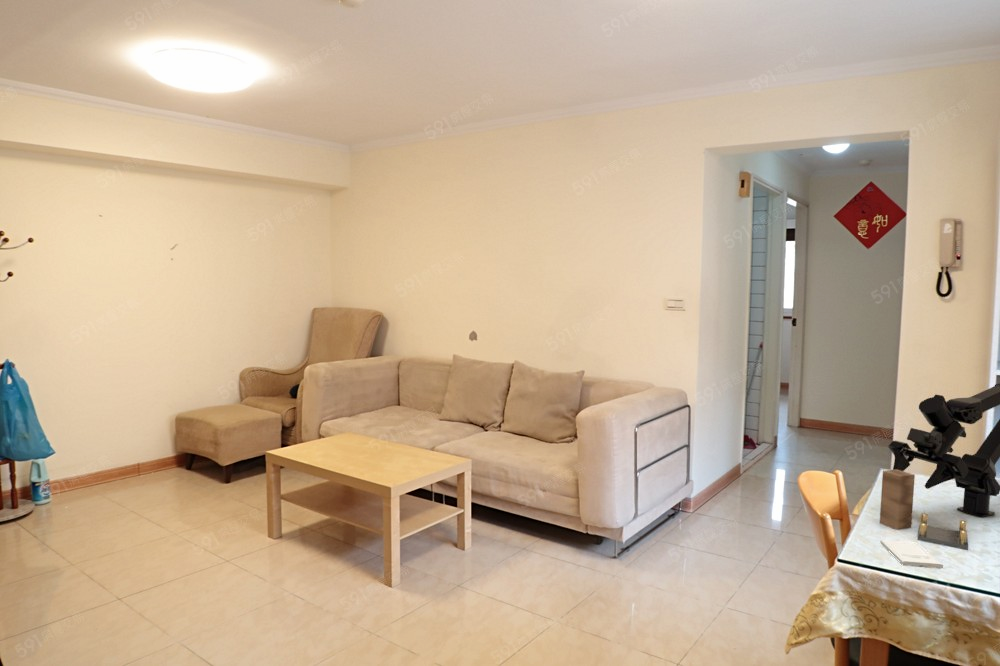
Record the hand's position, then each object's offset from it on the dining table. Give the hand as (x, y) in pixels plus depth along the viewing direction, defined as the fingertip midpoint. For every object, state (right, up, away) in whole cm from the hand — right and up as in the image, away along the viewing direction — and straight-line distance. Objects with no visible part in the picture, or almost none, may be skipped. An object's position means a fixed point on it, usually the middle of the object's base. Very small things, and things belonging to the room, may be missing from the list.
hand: (909, 482), depth 167 cm
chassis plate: (+3, -12, -9) cm, 15 cm away
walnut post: (-4, -11, -1) cm, 12 cm away
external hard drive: (-12, -13, -19) cm, 26 cm away
